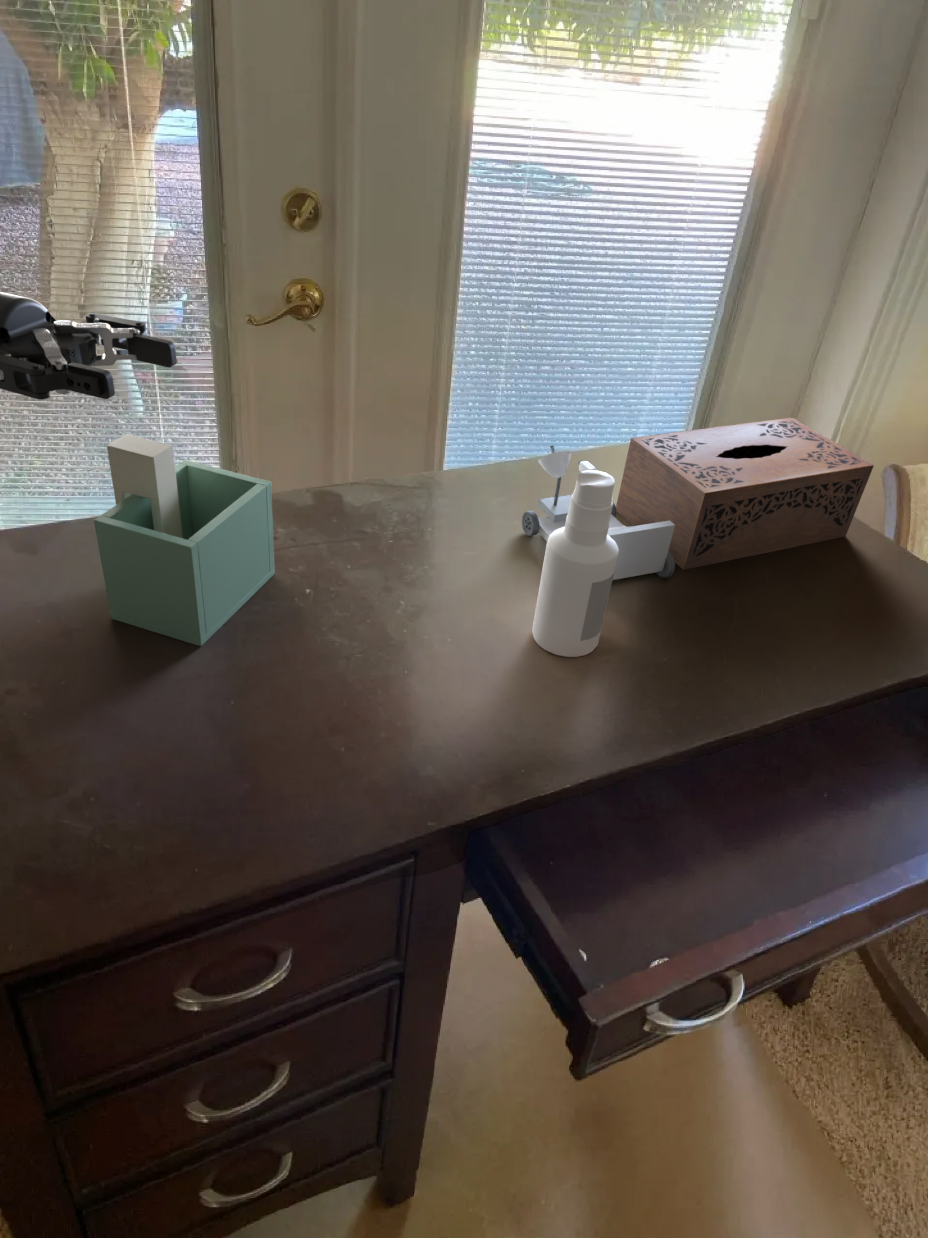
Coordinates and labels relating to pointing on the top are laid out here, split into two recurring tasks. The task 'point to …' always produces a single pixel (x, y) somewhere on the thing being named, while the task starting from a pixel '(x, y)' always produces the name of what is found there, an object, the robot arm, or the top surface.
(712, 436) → the tissue box cover
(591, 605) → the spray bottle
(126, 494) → the clip
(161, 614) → the bin
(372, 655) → the top surface
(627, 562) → the toy car
